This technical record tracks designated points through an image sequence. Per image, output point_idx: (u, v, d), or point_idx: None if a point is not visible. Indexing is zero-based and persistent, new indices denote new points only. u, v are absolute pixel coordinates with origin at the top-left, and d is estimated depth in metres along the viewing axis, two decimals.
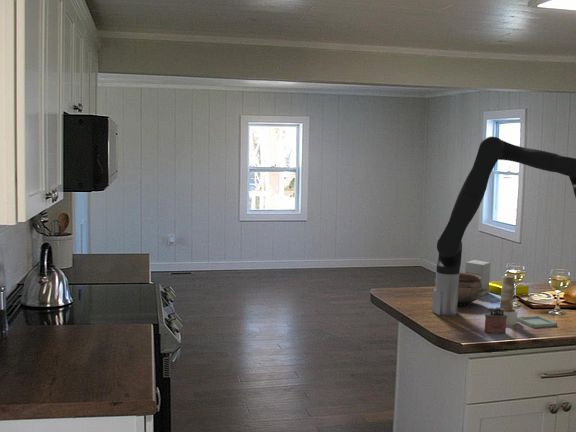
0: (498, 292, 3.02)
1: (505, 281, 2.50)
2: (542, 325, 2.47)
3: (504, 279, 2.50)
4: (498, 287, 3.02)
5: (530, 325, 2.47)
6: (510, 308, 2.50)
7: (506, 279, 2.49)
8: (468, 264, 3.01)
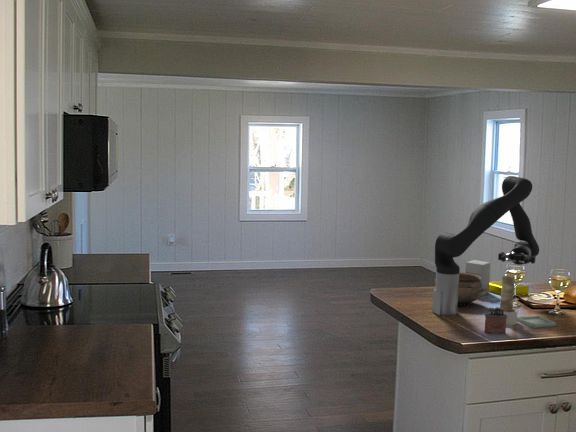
0: (498, 292, 3.03)
1: (505, 281, 2.50)
2: (542, 325, 2.47)
3: (504, 279, 2.50)
4: (498, 287, 3.03)
5: (530, 325, 2.47)
6: (510, 308, 2.50)
7: (506, 279, 2.49)
8: (468, 264, 3.01)
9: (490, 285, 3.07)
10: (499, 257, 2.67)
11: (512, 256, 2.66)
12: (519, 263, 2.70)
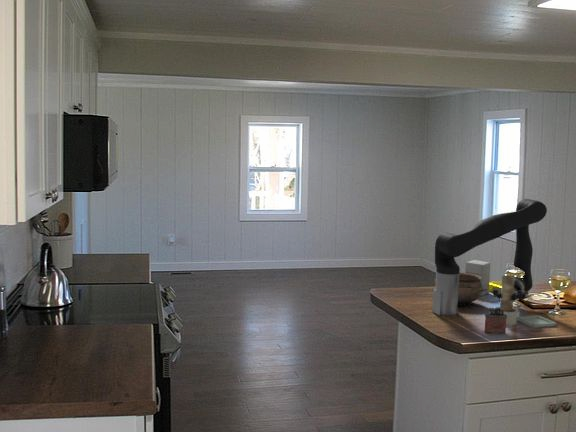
0: None
1: (505, 281, 2.50)
2: (542, 325, 2.47)
3: (504, 279, 2.50)
4: (497, 287, 3.03)
5: (530, 325, 2.47)
6: (510, 308, 2.50)
7: (506, 279, 2.49)
8: (468, 264, 3.01)
9: (490, 285, 3.07)
10: (495, 293, 2.56)
11: None
12: None
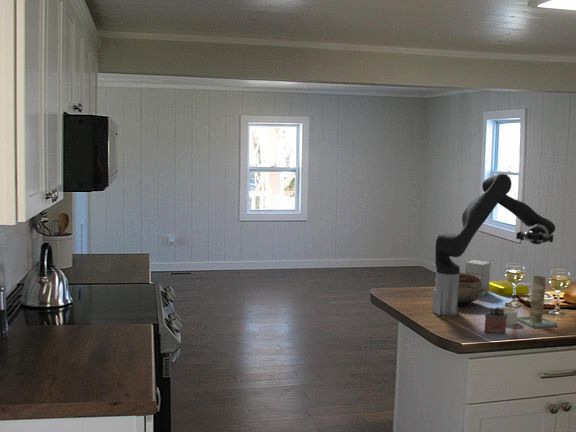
0: (496, 291, 3.04)
1: (536, 281, 2.49)
2: (542, 325, 2.47)
3: (535, 279, 2.49)
4: (496, 286, 3.04)
5: (530, 325, 2.47)
6: (541, 308, 2.50)
7: (538, 279, 2.48)
8: (468, 264, 3.01)
9: (490, 284, 3.08)
10: (517, 236, 2.70)
11: (530, 235, 2.69)
12: (537, 242, 2.73)
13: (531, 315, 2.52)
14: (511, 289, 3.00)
